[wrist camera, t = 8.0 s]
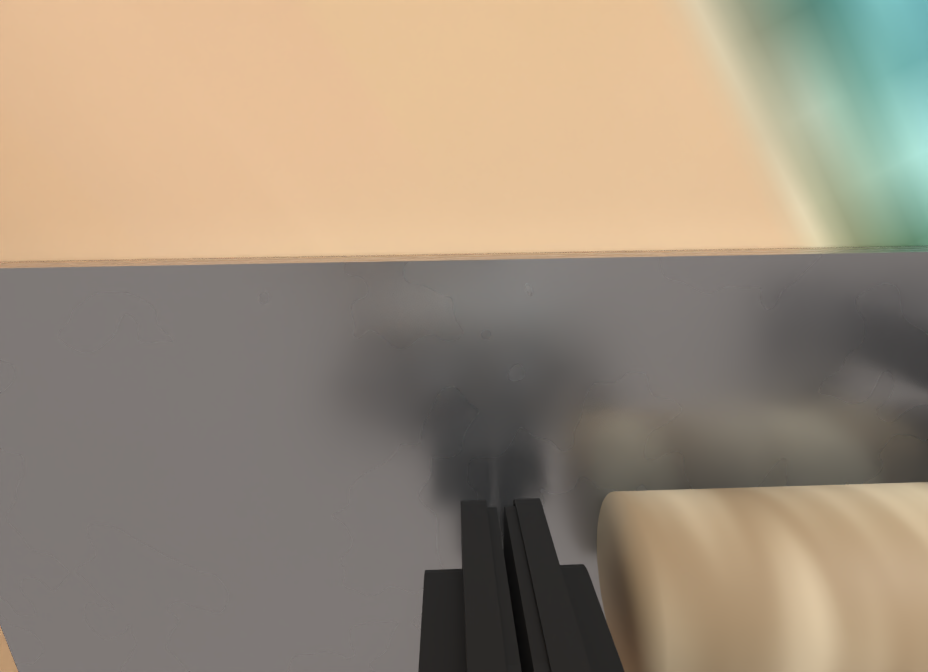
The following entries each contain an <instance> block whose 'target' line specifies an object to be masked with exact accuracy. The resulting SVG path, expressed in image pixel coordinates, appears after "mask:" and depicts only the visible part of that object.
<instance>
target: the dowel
mask: <svg viewBox="0 0 928 672" xmlns="http://www.w3.org/2000/svg"><path fill="white" fill-rule="evenodd" d="M597 563H598V574H599V583H600V590H601V597H602V602H603V608H604V613H605V617H606V622H607V625H608V627H609V630H610V633H611V636H612V638H613V641H614V644H615V647H616V649H617V652H618V655H619V658H620V660H621V663H622V666H623V669H624V671H625V672H928V482H912V483H878V484H845V485H812V486H778V487H745V488H712V489H678V490H645V491H613V492H610V493H609V494H607V495H606V497H605V498H604V500H603V502H602V505H601V508H600V513H599V518H598V526H597Z"/></svg>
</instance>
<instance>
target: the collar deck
mask: <svg viewBox="0 0 928 672" xmlns="http://www.w3.org/2000/svg"><path fill="white" fill-rule="evenodd" d="M912 482H928V246H905V247H847V248H790V249H732V250H674V251H617V252H559V253H501V254H444V255H386V256H328V257H271V258H213V259H155V260H98V261H40V262H0V626H1V628H2V631H3V634H4V636H5V639H6V641H7V644H8V646H9V649H10V651H11V654H12V656H13V659H14V661H15V664H16V666H17V669H18V671H19V672H418V669H419V652H420V636H421V619H422V603H423V586H424V573H425V570H439V569H462V545H461V501H465V500H486V503H487V507H497V513H498V519H499V526H500V533H501V539H502V546H503V522H504V506H513V500H514V499H523V498H540V500H541V503H542V506H543V510H544V513H545V516H546V520H547V523H548V527H549V530H550V533H551V537H552V540H553V543H554V547H555V550H556V554H557V557H558V560H559V564H560V565H571V564H584V565H585V567H586V568H587V570H588V573H589V575H590V578H591V581H592V583H593V586H594V589H595V592H596V594H597V597H598V600H599V603H600V605H601V608H602V611H603V614H604V616H605V613H604V608H603V602H602V597H601V590H600V583H599V574H598V563H597V526H598V518H599V513H600V508H601V505H602V502H603V500H604V498H605V497H606V495H607V494H609V493H610V492H613V491H645V490H678V489H712V488H745V487H778V486H812V485H845V484H878V483H912ZM605 619H606V617H605Z"/></svg>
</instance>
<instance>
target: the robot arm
mask: <svg viewBox="0 0 928 672" xmlns="http://www.w3.org/2000/svg"><path fill="white" fill-rule="evenodd" d="M461 545H462V569H439V570H425V573H424V586H423V603H422V619H421V636H420V652H419V669H418V672H625V671H624V669H623V666H622V663H621V660H620V658H619V655H618V652H617V649H616V647H615V644H614V641H613V638H612V636H611V633H610V630H609V627H608V625H607V622H606V619H605V616H604V614H603V611H602V608H601V605H600V603H599V600H598V597H597V594H596V592H595V589H594V586H593V583H592V581H591V578H590V575H589V573H588V570H587V568H586V567H585V565H584V564H571V565H560V564H559V560H558V557H557V554H556V550H555V547H554V543H553V540H552V537H551V533H550V530H549V527H548V523H547V520H546V516H545V513H544V510H543V506H542V503H541V500H540V498H523V499H514V500H513V506H504V522H503V546H502V539H501V533H500V526H499V519H498V513H497V507H487V503H486V500H465V501H461Z"/></svg>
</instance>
